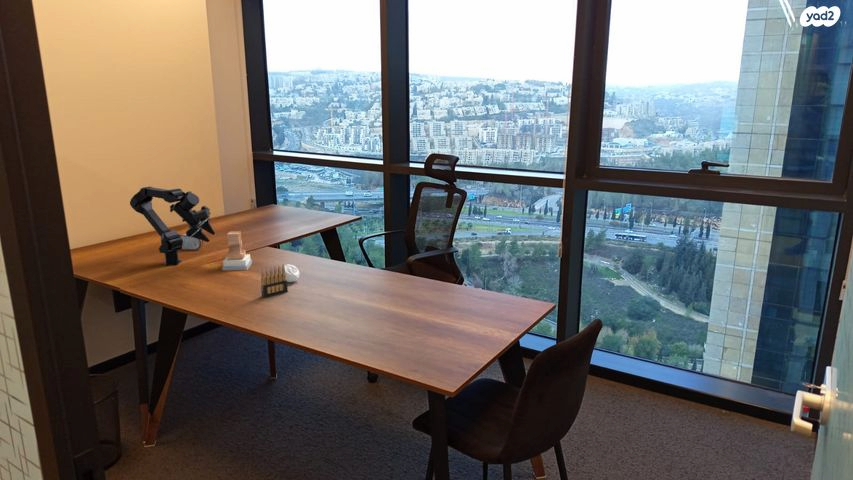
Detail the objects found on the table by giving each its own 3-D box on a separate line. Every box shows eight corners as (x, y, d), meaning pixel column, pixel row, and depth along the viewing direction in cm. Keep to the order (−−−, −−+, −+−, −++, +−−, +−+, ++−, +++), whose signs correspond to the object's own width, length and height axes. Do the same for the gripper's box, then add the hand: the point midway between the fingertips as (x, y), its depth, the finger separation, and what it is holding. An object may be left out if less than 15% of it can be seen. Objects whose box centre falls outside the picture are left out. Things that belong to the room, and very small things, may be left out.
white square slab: (245, 265, 267) (245, 260, 267) (223, 266, 267) (223, 260, 266) (250, 259, 277) (250, 254, 276) (228, 259, 276) (228, 254, 276)
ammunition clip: (285, 290, 241) (284, 263, 237) (288, 291, 239) (286, 264, 236) (261, 296, 234) (259, 268, 231) (263, 297, 233) (261, 269, 229)
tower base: (247, 271, 267) (246, 266, 267) (222, 271, 266) (222, 266, 266) (252, 264, 278) (251, 259, 277) (228, 264, 277) (228, 259, 276)
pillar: (242, 259, 268) (240, 234, 265) (227, 260, 267) (224, 234, 264) (245, 255, 275) (243, 230, 271) (230, 255, 274) (227, 231, 271)
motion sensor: (294, 285, 247) (293, 268, 245) (278, 284, 248) (277, 266, 246) (302, 279, 254) (301, 262, 252) (286, 278, 256) (285, 261, 254)
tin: (204, 249, 300) (202, 233, 298) (201, 251, 297) (199, 235, 295) (176, 248, 301) (174, 232, 299) (173, 250, 298) (171, 234, 296)
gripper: (192, 209, 255) (218, 234, 260) (204, 196, 272) (229, 220, 277) (174, 224, 257) (201, 249, 262) (187, 210, 274) (212, 234, 279)
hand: (211, 237), depth 270 cm, fingers open, 9 cm apart
